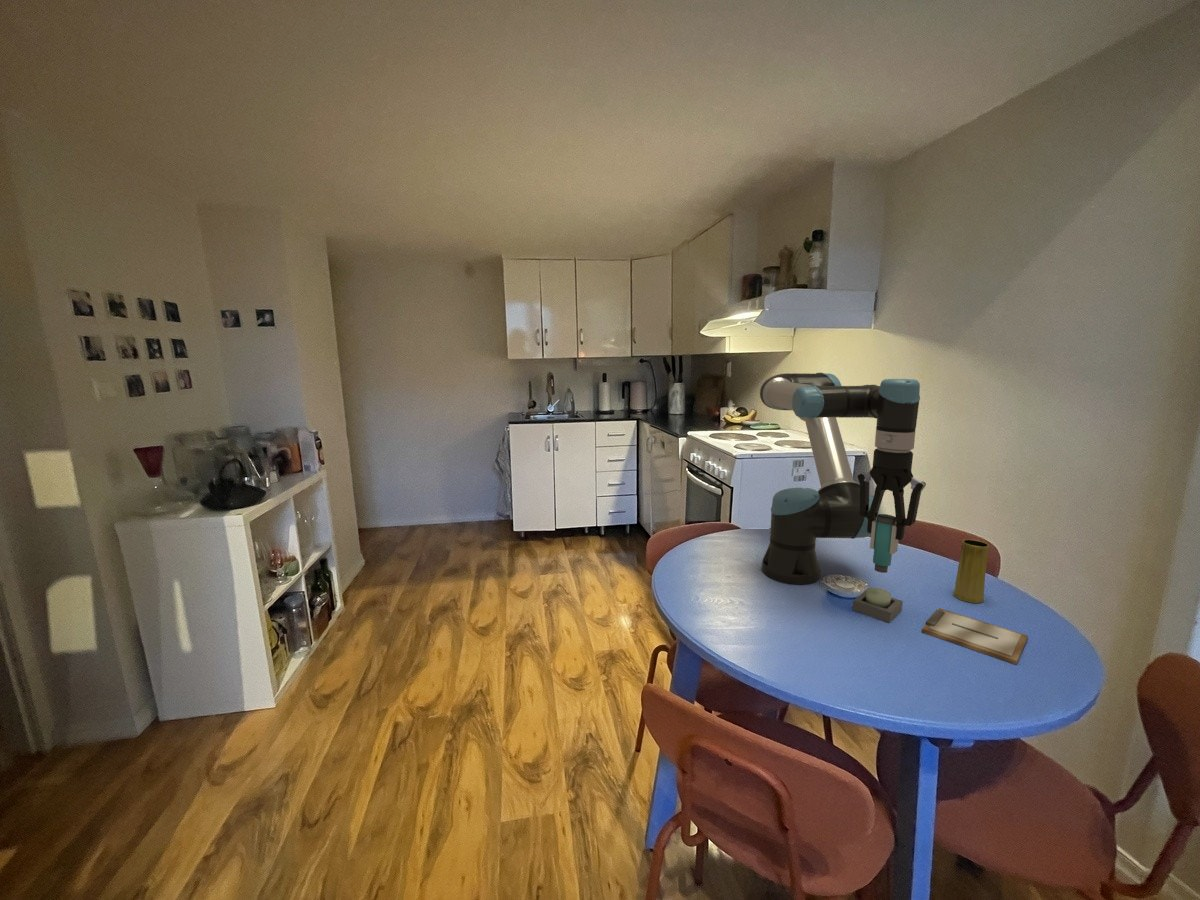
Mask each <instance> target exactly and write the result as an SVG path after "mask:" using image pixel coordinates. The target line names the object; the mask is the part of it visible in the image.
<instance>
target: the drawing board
mask: <svg viewBox="0 0 1200 900" xmlns="http://www.w3.org/2000/svg"><path fill="white" fill-rule="evenodd" d="M921 633H924V634H927V635H929V636H932V637H935V638H938V639H941V640H944V641H946V642H950V643H953V644H954V645H955V644H956V645H958V646H961V647H964V648H965V649H966V648H967V649H970V650H973V651H976V652H979V653H981V654H984V655H987V656H989V657H990V656H991V657H993V658H996V659H998V660H1001V661H1004V662H1007V663H1010V664H1013V665H1015V666H1016V665H1017V664H1018V662H1019V660H1020V657H1021V655H1022V654H1023V651H1024V648H1025V647H1026V644H1027V641H1028V639H1029V635H1028V634H1026V633H1025V634H1024V633H1020V632H1018V631H1016V630H1015V631H1014V630H1011V629H1009V628H1005V627H1001V626H999V625H995V624H993V623H988V622H985V621H982V620H979V619H976V618H972V617H971V616H970V617H969V616H966V615H963V614H959V613H956V612H953V611H950V610H947V609H943V608H941V607H940V608H938V609H935V611H934V612H933V613H931V615H930V617H928V619H927V620H926V621H925V625H924V626H923V627H922V629H921Z"/></svg>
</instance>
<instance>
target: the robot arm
mask: <svg viewBox="0 0 1200 900" xmlns="http://www.w3.org/2000/svg"><path fill="white" fill-rule="evenodd" d="M879 384H880V385H877V384H862V385H842V383H841V381H840V379H839V378H838V377H837V376H836V375H834V374H832V373H826V372H825V373H824V372H816V373H804V372H803V373H780V374H779V373H778V374H776V375H773V376H771V377H768V378H766V380H765V381H764V382H763V383H762V385H761V386H760V388H759V399H760V401H761V402H762V403H763V405H765V406H766V407H767V408H770V409H772V410H777V411H793V413H794V415H795V417H797V418H799V420H801V421H803V422H805V426H806V431H807V434H808V435H807V436H808V439H809V443H810V447H811V451H812V455H813V459H814V463H815V468H816V472H817V477H818V480H819V484H820V488H819V489H813V488H809V487H804V488H803V487H791V488H785V489H781V490H779V491H777V492H776V493H775V494H774V495H773V497H772V502H771V507H770V513H771V515H770V517H771V518H770V533H769V544H768V547H767V548H766V551H765V554H764V556H763V558H762V561H761V571H762V573H763V574H764V575H765V576H767V577H768V578H770V579H771V580H775V581H778V582H780V583H785V584H790V585H808V584H813V583H815V582H817V581H819V580H820V579H821V566H820V562H819V559H818V558H819V557H818V555H817V552H816V541H817V539H852V540H854V539H862V538H863V539H864V538H867V537H869V536H870V541H869V542H870V544H869V549H871V550H874V546H875V536H876V526H877V515H878V514H879V511H880V508H881V504H882V502H883V501H882V500H883V498H884V495H885V492H886V491H890V492H892V496H893V502H894V503H893V504H894V511H895V512H894V514H895V517H896V523H895V525H893V526H892V534H891V543H890V553H891V554H892V555H894V554H895V553H897V552H898V549H899V548H898V547H899V541H902V540H903V539H904V536H905V527H907V526H909V527H911V526H912V525H914V524H915V523H916V521H917V515H918V509H919V505H920V499H921V495H922V492H923V490H924V489H925V488H926V485H927V484H926V482H925V481H920V480H918V479H916V478H914V475H913V473H912V467H913V457H914V453H913V451H912V450H913V449H915V443H916V442H915V439H916V430H917V429H916V428H917V421H918V412H919V406H920V400H921V395H920V390H921V384H920V381H918V379H913V378H909V379H908V378H886V379H882V380H881V382H880V383H879ZM837 418H847V419H848V418H853V419H854V418H870V419H871V418H872V419H876V427H875V435H874V436H875V437H874V438H875V439H874V447H875V449H874V450H873V459H872V467H871V469H870V470H869V471H868V472H861V473H859V474H857V480H858V482H857V481H855V480H854V476H853V471H852V469H851V467H850V463H849V462H850V461H849V458H848V455H847V452H846V447H845V443H844V441H843V437H842V434H841V430H840V427H839V422H838V420H837ZM871 478H872V479H871ZM871 480H873V482H874V483H875V488H874V494H873V495H872V494H870V481H871ZM909 484H910V485H911V486H910V489H912V490H911V493H910V498H909V504H908V508H907V515H906V509H905V497H904V494H905V490H904V489H905V487H907V486H908V485H909Z"/></svg>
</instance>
